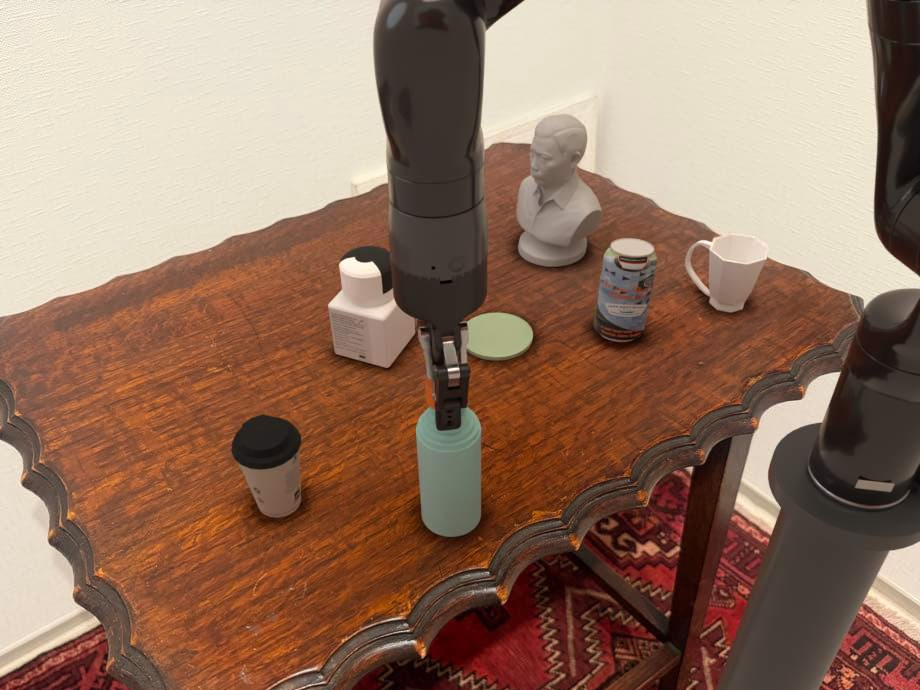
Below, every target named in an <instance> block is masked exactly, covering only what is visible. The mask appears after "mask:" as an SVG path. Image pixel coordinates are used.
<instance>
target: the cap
mask: <svg viewBox="0 0 920 690" xmlns="http://www.w3.org/2000/svg"><path fill="white" fill-rule="evenodd" d="M424 389H425V391H424V393H425V401H426V404H427V406H428V407H429V406H430V407H431V408H432V409H434V410H435V406H434V399H432V393H433V386H432V380H430V379H428V377H427V374H426V373H425V377H424ZM469 401H470V389H469V390H468V402H469Z"/></svg>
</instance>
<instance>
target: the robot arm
mask: <svg viewBox="0 0 920 690" xmlns="http://www.w3.org/2000/svg"><path fill="white" fill-rule="evenodd" d="M525 1H526V0H380V1H379V6H378V9H377V12H376V13H377V14H376V17H375V21H374V26H373V31H372V57H373V58H372V59H373V69H374V78H375V86H376V92H377V99H378V104H379V109H380V114H381V120H382V123H383V129H384V132H385V136H386V141H385V143H386V144H385V162H386V163H385V164H386V171H387V172H386V173H387V185H388V215H387V231H388V244H389V252H390V258H391V270H392V283H393V295H394V300H395V302H396V304H397V306H398V307H399V308H400V309H401V310H402V311H403V312H404V313H406V314H407V315H409V316H411V317H413V318H414V319H415V326H416V329H417V337H418V342H419V347H420V348H421V349H423V351H422V357H423V359H424V360H423V361H424V370H425V375H426V374H427V377H428V379H430V380H432V386H433V393H432V399H434V406H435V424H436V428H437V430H439V431H446V430H454V429H458V428H460V427H461V409H463V408H467V407H468V404H469V401H468V390H469V391H470V379H471V374H472V371H471V370H472V369H471V366H469V365H470V364H469V363H468V352H467V350H466V345H467V344H468V342H469V332H468V324H467V322H468V321H467V320H465V319H466V318H468V317H469V316H470V315H472V314H474V313H475V312H476V311H478V310H479V309H480V308H481V307H482V305H483V304H484V303H485V301H486V299H487V296H488V252H489V251H488V250H489V249H488V247H489V245H488V243H489V242H488V241H489V239H488V238H489V221H488V220H489V219H488V212H487V206H486V205H487V204H486V196H485V195H486V194H485V189H486V188H485V187H486V184H485V183H486V182H485V181H486V177H485V176H486V174H485V173H486V160H485V159H486V156H485V140H484V132H483V128H482V117H483V104H484V86H485V85H484V84H485V68H486V67H485V65H486V45H487V44H486V41H487V40H486V39H487V37H486V34H487V33H486V32H487V31H488V30H489V29H490V28H491V27H492V26H493V25H495V24H496V23H497V22H498V21H499V20H500V19H502V18H503V17H505V16H506V15H508V14H509V13H510V12H511V11H513V10H514V9H516V8H517V7H518V6H519V5H521V4H522V3H523V2H525ZM865 9H866V21H867V28H868V34H869V35H868V36H869V40H870V47H871V49H870V50H871V57H872V59H871V60H872V71H873V72H872V73H873V90H874V107H875V115H876V116H875V117H876V157H875V174H874V192H873V223H874V230H875V233H876V235H877V238H878V240H879V242H880V243H881V246H883V248H884V249H885V250H886V251H887V252H888V253H889V254H890V255H891V256H892V257H893V258H894V259H896V260H897V261H899V262H900V263H901V264H902V265H903V266H905V267H906V268H907V269H908V270H910V271H912V273H913V274H916V276H918V277H919V278H920V0H865ZM464 320H465V321H464ZM821 422H822V424H821V427H820V430H819V432H818V435H817V438H816V440H815V443H814V446H813V448H812V450H811V452H810V454H809V456H808V459H807V462H806V471H807V475H808V477H809V479H810V481H811V482H812V484H813V485H814V486H815V487H816V488H817V489H818V490H819V491H820V492H821V493H822V494H823V495H825V496H826V497H828V498H829V499H831V500H832V501H834V502H836V503H838V504H841V505H843V506H846V507H849V508H852V509H856V510H862V511H884V510H888V509H892V508H894V507H896V506H898V505H900V504H901V503H902V502H903V501H904V500H905V499H906V498H907V496H908V494H910V493H916V492H917V491H918V489H919V487H920V288H919V287H914V288H913V287H910V288H909V287H908V288H906V287H905V288H897V289H892V290H888V291H885V292H882V293H879V294H878V295H876V296H875V297H873V298H872V299H870V301H868V303H867V304H866V305H865V307H864V309H863V311H862V314H861V316H860V319H859V321H858V324H857V326H856V330H855V332H854V335H853V338H852V340H851V342H850V346H849V349H848V351H847V354H846V357H845V359H844V363H843V365H842V368H841V370H840V373H839V376H838V379H837V381H836V384H835V387H834V388H833V391H832V395H831V398H830V400H829V402H828V406H827V408H826V411H825V413H824V417H823V419H822V421H821Z"/></svg>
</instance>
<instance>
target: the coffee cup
mask: <svg viewBox="0 0 920 690" xmlns="http://www.w3.org/2000/svg"><path fill="white" fill-rule="evenodd" d="M301 446H302V435H301V433H300V431H299V429H298V427H296V426H295V424H293V423H292V422H290V421H289V420H287V419H285V418H282V417H276V416H272V415H267V414H259V415H257V416H256V415H255V416H253V417H250V418H249V419H248V420H246V421H245V422H243V423H242V424H241V427H240V428H239V429H238V430H237V431H236V432H235V435H234V436H233V439H232V441H231V446H230V447H231V450H230V451H231V453H230V454H231V455H232V457H233V460H235V462H238V465H239V467H240V470H241V472H242V474H243V476H244V478H245V480H246V483H247V485H248V487H249V489H250V492H251V494H252V496H253V499H254V500H255V502H256V505H257V508H258V509H259V511H260V512H261V513H262V514H263V515H264V516H267V517H269V518H284V517H287V516H289V515H291V514H293V513H294V512H296V511H297V509H298V508H299V507H300V504H301V502H302V488H301V487H302V486H301V485H302V484H301V455H300V451H301V450H300V449H301Z"/></svg>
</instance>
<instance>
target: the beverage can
mask: <svg viewBox="0 0 920 690" xmlns="http://www.w3.org/2000/svg"><path fill="white" fill-rule="evenodd" d="M601 265H602V266H601V272H600V278H599V279H600V280H599V287H598V293H597V299H596V306H595V312H594V319H593V329H594V330H595V332H597V333H598V334H599V335H600V336H601V337H602V338H604V339H606V340H609V341H611V342H616V343H627V342H631V341H633V340H636V339H638V338H640V337H641V336H642V335H643V334H644V333H645V327H646V323H647V317H648V312H649V307H650V301H651V296H652V291H653V287H654V286H653V285H654V281H655V275H656V271H657V265H658V257H657V254H656V253H655V246H654V245H653V244H651V243H650V242H648V241H646V240H643V239H639V238H632V237H623V238H618V239H615V240H613V241H612V242H611V243H610V246H609V247H608V248H607V250H605V252H604V254H603V260H602V264H601Z"/></svg>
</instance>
